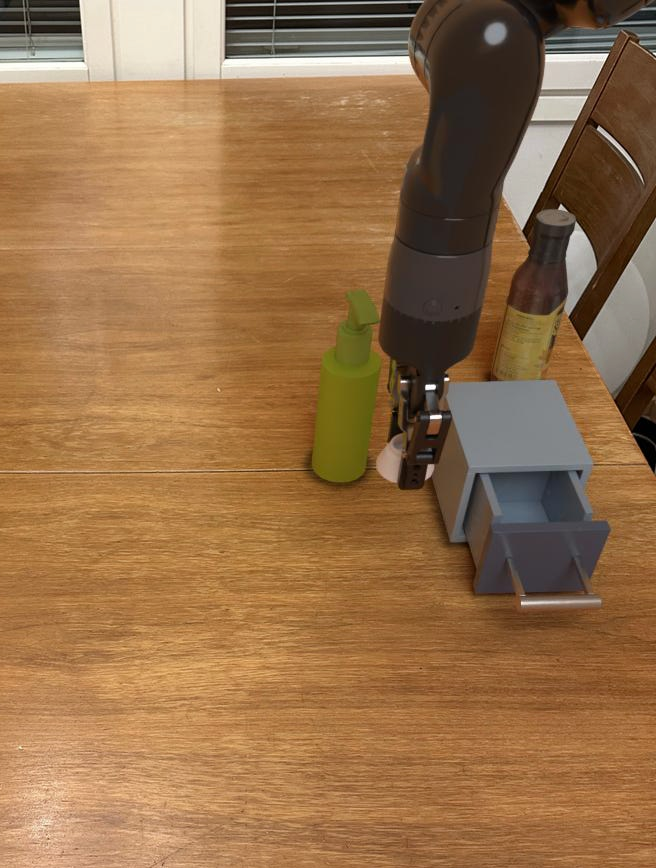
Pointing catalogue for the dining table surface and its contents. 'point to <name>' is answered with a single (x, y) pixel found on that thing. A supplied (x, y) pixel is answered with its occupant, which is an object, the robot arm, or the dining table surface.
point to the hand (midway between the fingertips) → (404, 466)
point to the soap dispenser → (347, 395)
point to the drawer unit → (503, 439)
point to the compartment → (534, 538)
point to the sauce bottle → (535, 302)
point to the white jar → (394, 460)
